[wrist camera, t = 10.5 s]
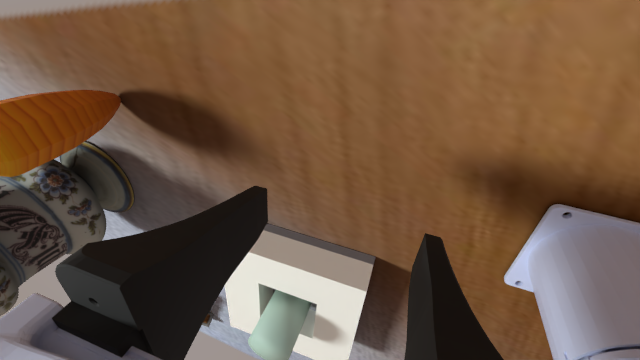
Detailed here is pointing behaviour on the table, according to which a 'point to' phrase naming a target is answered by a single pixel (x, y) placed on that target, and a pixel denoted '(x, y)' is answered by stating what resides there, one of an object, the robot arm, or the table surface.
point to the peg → (279, 326)
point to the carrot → (49, 126)
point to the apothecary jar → (56, 213)
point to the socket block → (303, 288)
